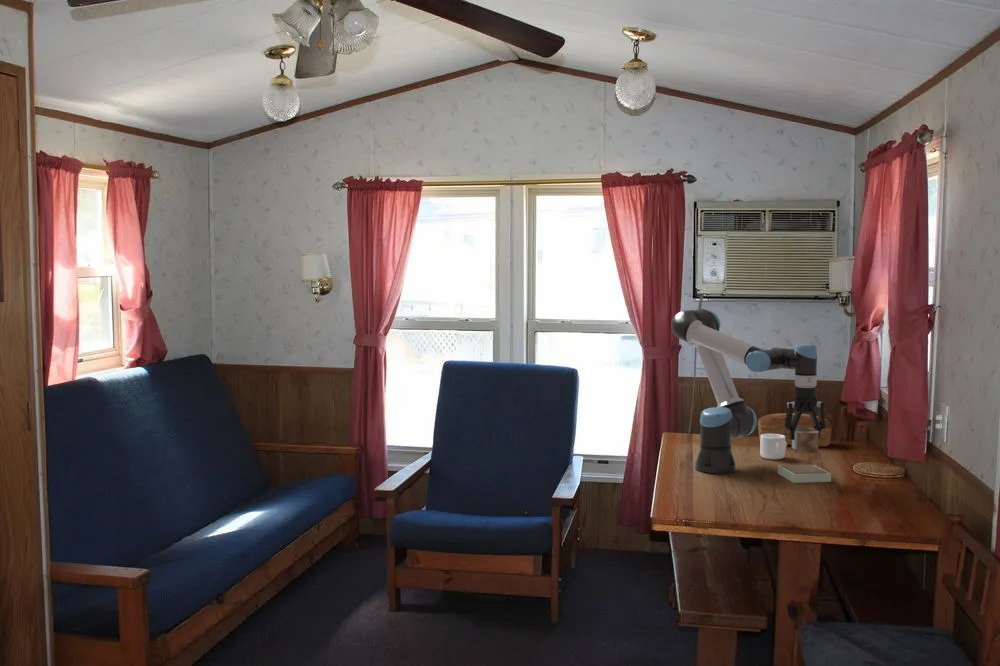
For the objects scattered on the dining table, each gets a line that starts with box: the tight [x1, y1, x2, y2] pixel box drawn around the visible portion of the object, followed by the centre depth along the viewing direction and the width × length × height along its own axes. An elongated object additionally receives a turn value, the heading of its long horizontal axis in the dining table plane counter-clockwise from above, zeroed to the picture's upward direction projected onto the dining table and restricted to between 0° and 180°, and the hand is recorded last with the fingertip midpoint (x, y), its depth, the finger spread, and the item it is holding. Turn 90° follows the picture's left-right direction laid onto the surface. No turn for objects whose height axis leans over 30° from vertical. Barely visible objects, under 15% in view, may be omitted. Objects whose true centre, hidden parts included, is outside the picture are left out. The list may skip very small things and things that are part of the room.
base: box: [777, 464, 832, 484], centre depth 314 cm, size 14×14×3 cm
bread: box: [757, 412, 833, 448], centre depth 374 cm, size 12×31×14 cm, turn 72°
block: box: [791, 428, 819, 454], centre depth 313 cm, size 7×7×8 cm
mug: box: [759, 434, 788, 461], centre depth 346 cm, size 12×10×9 cm
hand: (804, 448), depth 313 cm, fingers closed on block, 7 cm apart
